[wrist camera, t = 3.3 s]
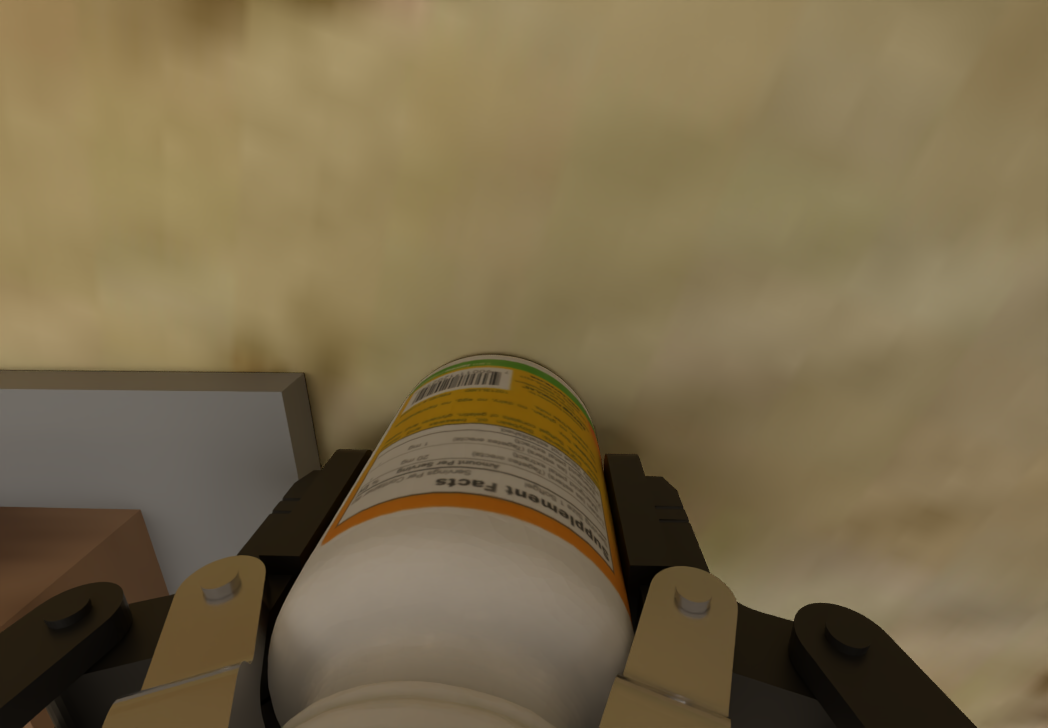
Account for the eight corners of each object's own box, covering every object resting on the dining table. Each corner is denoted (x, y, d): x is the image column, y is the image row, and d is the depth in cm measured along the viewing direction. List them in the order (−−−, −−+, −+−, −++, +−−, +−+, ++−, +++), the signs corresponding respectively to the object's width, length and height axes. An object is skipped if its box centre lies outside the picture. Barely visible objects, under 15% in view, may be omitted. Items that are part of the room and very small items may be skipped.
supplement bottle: (522, 553, 15) (487, 1132, 6) (363, 462, 14) (38, 984, 5) (637, 421, 13) (829, 955, 4) (464, 308, 12) (244, 682, 3)
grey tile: (303, 373, 13) (281, 392, 12) (374, 768, 19) (362, 806, 18) (-335, 367, 14) (-411, 384, 13) (-82, 749, 20) (-119, 783, 19)
